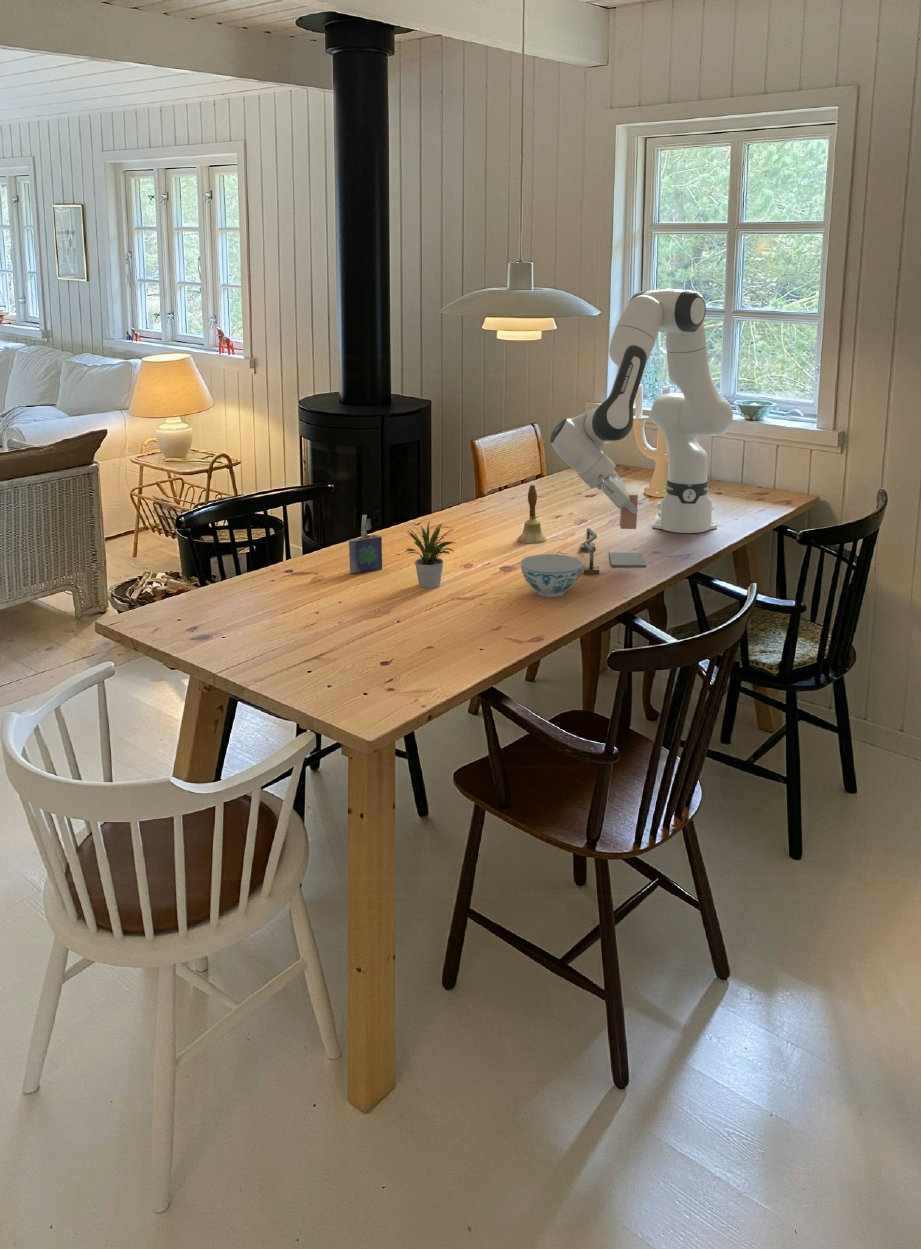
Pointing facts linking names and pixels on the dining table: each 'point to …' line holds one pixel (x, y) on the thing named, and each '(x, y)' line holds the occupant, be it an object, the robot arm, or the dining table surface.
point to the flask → (365, 553)
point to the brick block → (629, 514)
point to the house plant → (429, 557)
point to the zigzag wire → (591, 548)
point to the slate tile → (627, 559)
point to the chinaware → (551, 573)
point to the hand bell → (532, 522)
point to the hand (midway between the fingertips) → (635, 509)
